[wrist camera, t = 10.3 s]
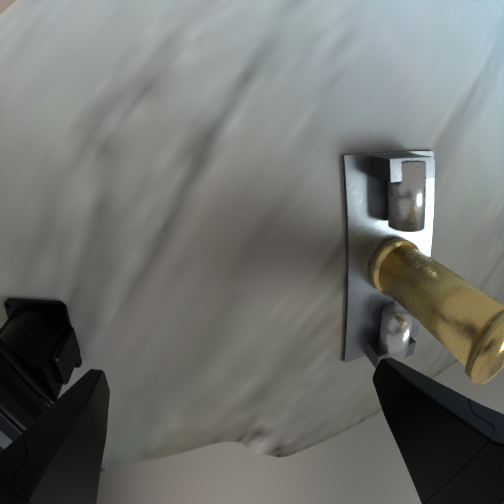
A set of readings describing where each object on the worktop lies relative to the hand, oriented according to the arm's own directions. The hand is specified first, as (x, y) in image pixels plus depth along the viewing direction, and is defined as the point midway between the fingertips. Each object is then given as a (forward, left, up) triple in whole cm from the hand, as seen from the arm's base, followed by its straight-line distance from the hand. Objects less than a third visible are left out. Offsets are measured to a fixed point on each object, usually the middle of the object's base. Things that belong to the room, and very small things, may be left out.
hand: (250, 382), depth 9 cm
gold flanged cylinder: (+15, -2, -13) cm, 20 cm away
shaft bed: (+15, -2, -13) cm, 20 cm away
